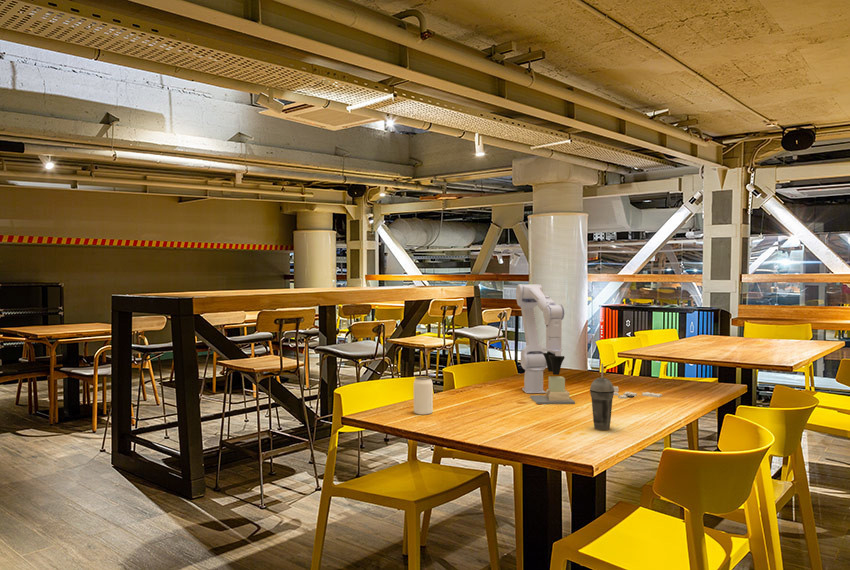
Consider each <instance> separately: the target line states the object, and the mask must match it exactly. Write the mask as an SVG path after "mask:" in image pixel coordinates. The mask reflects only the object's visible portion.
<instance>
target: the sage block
mask: <svg viewBox="0 0 850 570" xmlns="http://www.w3.org/2000/svg"><path fill="white" fill-rule="evenodd" d="M548 389H549V390H550V391H551V392H565V390H566V378H565V377H564V376H559V375H554V376H552V375H551V376H550V375H549V376H548Z"/></svg>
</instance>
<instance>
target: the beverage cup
mask: <svg viewBox="0 0 850 570" xmlns="http://www.w3.org/2000/svg"><path fill="white" fill-rule="evenodd" d="M600 369H601V373H600V374H601V375H600V377H597V378H595V379H594V380H593V381H592V382H591V385H590V387H589V394H590V397H591V406H592V408H591V409H592V410H591V411H592V420H593V428H594V429H595V430H597V431H609V430H610V428H611V427H610V426H611V422H612V421H611V418H612V410H613V409H612V408H613V398H614V396H615V395H614V387H615V386H614V384H613V383H612V381H611V380H610V379H608V378H606V377H604V364H603V363H601V368H600ZM613 386H614V387H613Z"/></svg>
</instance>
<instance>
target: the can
mask: <svg viewBox="0 0 850 570" xmlns="http://www.w3.org/2000/svg"><path fill="white" fill-rule="evenodd" d="M433 387H434V385H433V381H432V377H431V376H415V377H414V381H413V413H414V414H415V415H418V416H419V415H421V416H425V415H431V414H432V413H433V407H434V406H433V405H434V404H433V401H434V400H433V397H434V393H433V392H434V391H433V390H434V389H433Z"/></svg>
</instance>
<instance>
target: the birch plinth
mask: <svg viewBox="0 0 850 570" xmlns="http://www.w3.org/2000/svg"><path fill="white" fill-rule="evenodd" d="M545 392H546V393H545V395H546V397H547V398H548V399H549V400H550V401H557V400H569V398H570V391H568V390H567V389H565V392H551V391H550V390H549V388H546V390H545Z"/></svg>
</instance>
